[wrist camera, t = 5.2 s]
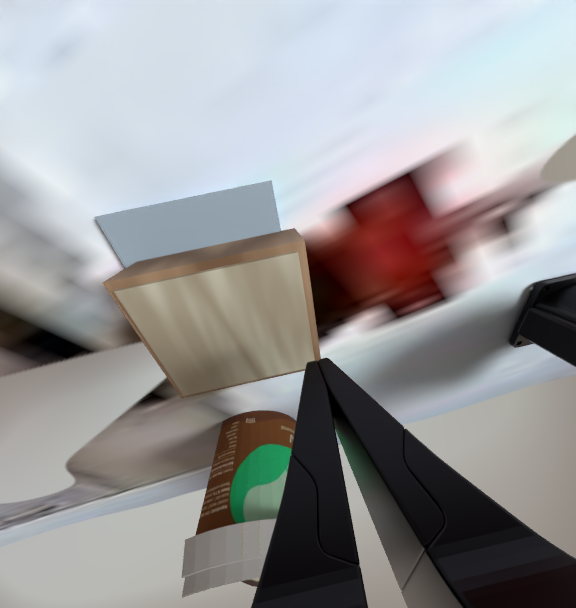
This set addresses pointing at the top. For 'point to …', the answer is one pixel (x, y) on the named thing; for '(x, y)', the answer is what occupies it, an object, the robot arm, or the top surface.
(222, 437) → the food container
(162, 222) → the board
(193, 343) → the wooden block
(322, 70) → the top surface
